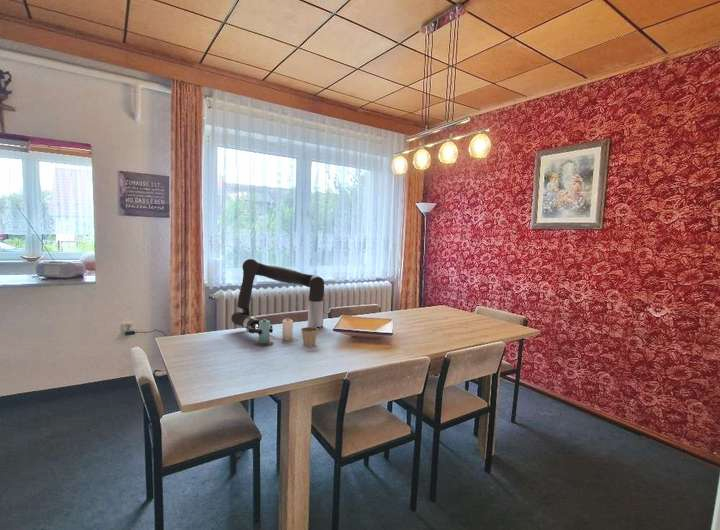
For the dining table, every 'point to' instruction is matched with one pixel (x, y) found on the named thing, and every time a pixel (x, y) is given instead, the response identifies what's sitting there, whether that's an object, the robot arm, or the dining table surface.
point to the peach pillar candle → (287, 329)
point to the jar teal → (264, 331)
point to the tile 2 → (287, 341)
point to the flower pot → (309, 335)
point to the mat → (264, 344)
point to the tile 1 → (270, 338)
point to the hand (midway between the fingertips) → (266, 331)
